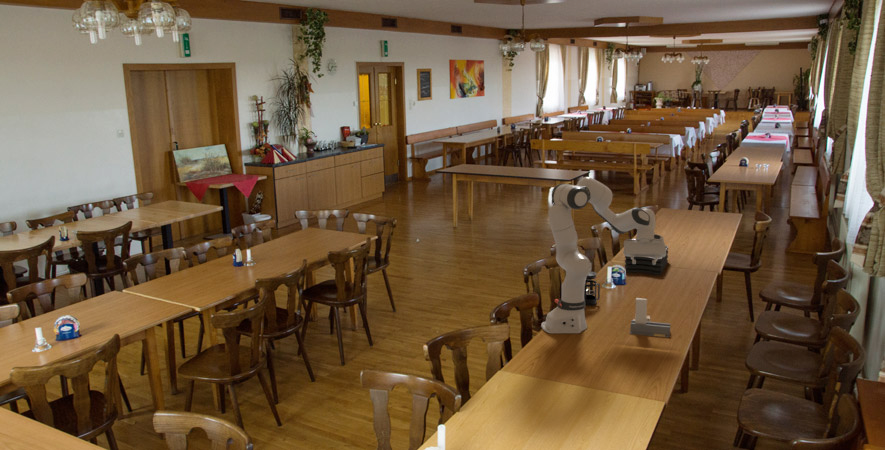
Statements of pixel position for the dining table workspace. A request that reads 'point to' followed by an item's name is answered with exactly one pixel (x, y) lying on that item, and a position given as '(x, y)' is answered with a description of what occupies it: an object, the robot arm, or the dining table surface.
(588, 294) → the french press
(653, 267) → the container
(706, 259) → the dining table surface
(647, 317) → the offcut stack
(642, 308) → the plank
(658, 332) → the rack
